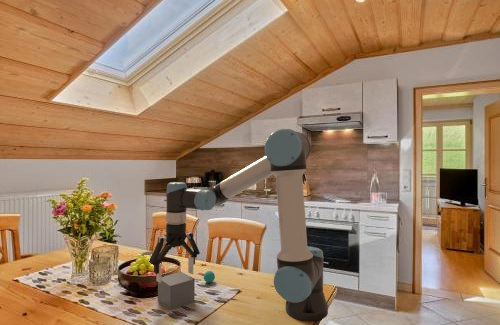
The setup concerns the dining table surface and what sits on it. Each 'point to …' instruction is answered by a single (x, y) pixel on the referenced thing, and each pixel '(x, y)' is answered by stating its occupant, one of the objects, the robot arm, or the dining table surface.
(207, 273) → the ball
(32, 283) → the dining table surface
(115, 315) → the dining table surface
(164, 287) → the matte grey cube
